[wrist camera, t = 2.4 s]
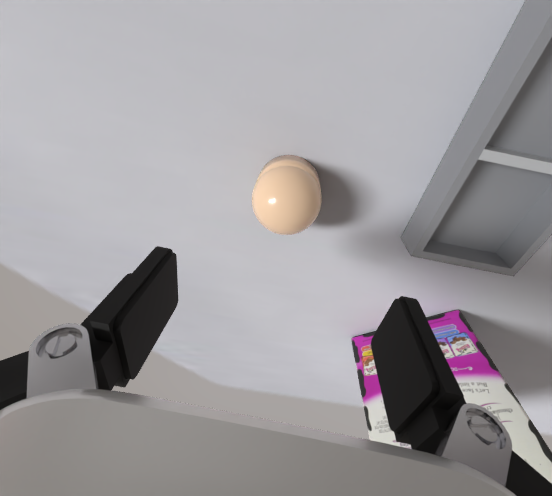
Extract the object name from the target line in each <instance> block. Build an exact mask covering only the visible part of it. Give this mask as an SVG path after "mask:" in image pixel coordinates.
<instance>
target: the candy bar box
mask: <svg viewBox="0 0 552 496" xmlns="http://www.w3.org/2000/svg"><path fill="white" fill-rule="evenodd" d="M426 319H427V321H428V323H429V325H430V327H431V329H432V331H433V333H434V335H435V337H436V339H437V341H438V343H439V345H440V347H441V350H442V352H443V354H444V356H445V358H446V360H447V362H448V364H449V366H450V368H451V370H452V372H453V374H454V376H455V378H456V380H457V382H458V384H459V387H460V389H461V391H462V393H463V395H464V396H463V397H464V399H465V401H466V403H472V404H476V405H479V406H481V407H483V408H485V409H486V410H488V411H490V412H491V413H492V414H493V415H494V416H495V417H497V418H498V420H499V421H500V422H501V423H502V424H503V425H504V427H505V428H506V430H507V432H508V433H509V436H510V438H511V441H512V450H513V451H514V452H515V453H516V454H517V455H519V456H520V457H521V458H522V459H523V460H524V461H526V462H527V463H528V464H529V465H530V466H532V467H533V468H534V469H535V470H536V471H537V472H539V473H540V474H541V475H542V476H543V477H545V478H546V479H547V480H548V481H549V482H550V483H552V452H551V451H550V449H549V448H548V446H547V445H546V443H545V441H544V440H543V438H542V437H541V435H540V433H539V432H538V430H537V429H536V428H535V426H534V425H533V423H532V421H531V420H530V419H529V417H528V415H527V414H526V412H525V411H524V409H523V408H522V406H521V404H520V403H519V401H518V399H517V398H516V397H515V395H514V394H513V392H512V391H511V389H510V387H509V386H508V384H507V383H506V381H505V380H504V378H503V377H502V375H501V374H500V372H499V371H498V369H497V368H496V366H495V364H494V363H493V361H492V360H491V358H490V357H489V355H488V354H487V352H486V350H485V349H484V347H483V346H482V344H481V343H480V341H479V340H478V338H477V337H476V335H475V334H474V332H473V330H472V329H471V327H470V325H469V324H468V322H467V321H466V319H465V318H464V316H463V315H462V313H461V312H460V311H459V310H454V311H450V312H446V313H442V314H439V315H435V316H431V317H427V318H426ZM375 332H376V331H375ZM375 332H372V333H368V334H364V335H361V336H357V337H354V338H352V346H353V352H354V357H355V362H356V368H357V373H358V379H359V384H360V389H361V395H362V400H363V406H364V410H365V416H366V421H367V426H368V433H369V438H370V440H372V441H377V442H382V443H386V444H391V445H395V446H400V447H404V448H409V449H412V448H411V444H406V443H401V442H396V438H395V434H394V432H393V431H391V429H390V427H389V423H388V419H387V415H386V410H385V406H384V402H383V397H382V393H381V389H380V384H379V380H378V375H377V371H376V367H375V362H374V358H373V354H372V349H371V340H372V338H373V336H374V334H375Z"/></svg>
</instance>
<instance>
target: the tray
mask: <svg viewBox="0 0 552 496" xmlns="http://www.w3.org/2000/svg"><path fill="white" fill-rule="evenodd" d="M551 235H552V0H526V1H525V3H524V5H523V7H522V8H521V10H520V12H519V14H518V16H517V18H516V20H515V22H514V24H513V26H512V27H511V29H510V31H509V33H508V35H507V37H506V39H505V41H504V43H503V45H502V46H501V48H500V50H499V52H498V54H497V56H496V58H495V60H494V62H493V64H492V65H491V67H490V69H489V71H488V73H487V75H486V77H485V79H484V81H483V82H482V84H481V86H480V88H479V90H478V92H477V94H476V96H475V98H474V100H473V101H472V103H471V105H470V107H469V109H468V111H467V113H466V115H465V117H464V119H463V120H462V122H461V124H460V126H459V128H458V130H457V132H456V134H455V136H454V138H453V139H452V141H451V143H450V145H449V147H448V149H447V151H446V153H445V155H444V157H443V158H442V160H441V162H440V164H439V166H438V168H437V170H436V172H435V174H434V176H433V177H432V179H431V181H430V183H429V185H428V187H427V189H426V191H425V193H424V195H423V196H422V198H421V200H420V202H419V204H418V206H417V208H416V210H415V212H414V214H413V215H412V217H411V219H410V221H409V223H408V225H407V227H406V229H405V231H404V233H403V234H402V236H401V239H402V241H403V243H404V244H405V246H406V248H407V250H408V252H409V253H410V255H411V256H413V257H418V258H424V259H429V260H434V261H439V262H444V263H449V264H454V265H459V266H464V267H469V268H474V269H479V270H484V271H489V272H494V273H500V274H505V275H510V276H514V275H515V274H516V273H517V272H518V271H519V270H520V269H521V268H522V266H523V265H524V264H525V263H526V262H527V261H528V260H529V259H530V258H531V257H532V255H533V254H534V253H535V252H536V251H537V250H538V249H539V248H540V247H541V246H542V244H543V243H544V242H545V241H546V240H547V239H548V238H549V237H550V236H551Z"/></svg>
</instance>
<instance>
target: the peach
mask: <svg viewBox="0 0 552 496" xmlns="http://www.w3.org/2000/svg"><path fill="white" fill-rule="evenodd" d="M321 201H322V197H321V188H320V180H319V176H318V173H317V172H316V170H315V168H314V167H313V166H312V165H311V164H310V163H309V162H308V161H307V160H305V159H303V158H301V157H298V156H294V155H283V156H279V157H276V158H274V159H272V160H271V161H269V162H268V163H267V164H266V165H265V166H264V167H263V169H262V171H261V172H260V175H259V177H258V179H257V182H256V184H255V186H254V189H253V194H252V206H253V210H254V213H255V215H256V217H257V219H258V220H259V222H260V223H261V224H262V225H263V226H264V227H265V228H267V229H268V230H270V231H272V232H274V233H277V234H281V235H292V234H296V233H299V232H301V231H303V230H305V229H307V228H308V227H309V226H310V225H311V224H312V223H313V222H314V221H315V219H316V218H317V216H318V214H319V211H320V208H321Z"/></svg>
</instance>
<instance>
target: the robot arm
mask: <svg viewBox="0 0 552 496" xmlns="http://www.w3.org/2000/svg"><path fill="white" fill-rule="evenodd" d="M177 303H178V283H177V260H176V254H175V253H173V252H172V250H171V249H168V248H163V247H156V248H155V249H154V250H153V251H152V252H151V253H150V254H149V255H148V256H147V257H146V259H145V260H144V261H143V262H142V263H141V264H140V265H139V266H138V267H137V269H136V270H135V271H134V272H133V273H132V274H131V273H130V274H127V275H126V276H125V277H124V278H123V279H122V280H121V281H120V282H119V283H118V285H117V286H116V287H115V288H114V289H113V290H112V291H111V292H110V293H109V294H108V295H107V297H106V298H105V299H104V300H103V301H102V302H101V303H100V304H99V305H98V306H97V307H96V308H95V310H94V311H93V312H92V313H91V314H90V315H89V316H88V317H87V318H86V319H85V320H84V322H83V323H82V324H81V325H78V324H70V323H68V324H62V325H58V326H55V327H53V328H50V329H49V330H47V331H45V332H43V333H42V334H41V335H39V336H38V337H37V338H36V339H35V340H34V341H33V343H32V344H31V346H30V349H29V351H27V352H24V353H21V354H18V355H15V356H13V357H10V358H7V359H4V360H1V361H0V496H552V483H550V482H549V481H548V480H547V479H546V478H545V477H543V476H542V475H541V474H540V473H539V472H537V471H536V470H535V469H534V468H533V467H532V466H530V465H529V464H528V463H527V462H526V461H524V460H523V459H522V458H521V457H520V456H519V455H517V454H516V453H515V452H514V451H513V450H512V441H511V438H510V436H509V433H508V432H507V430H506V428H505V427H504V425H503V424H502V423H501V422H500V421H499V420H498V418H497V417H495V416H494V415H493V414H492V413H491V412H490V411H488V410H486V409H485V408H483V407H481V406H479V405H476V404H472V403H466V401H465V399H464V397H463V396H464V395H463V393H462V391H461V389H460V387H459V384H458V382H457V380H456V378H455V376H454V374H453V372H452V370H451V368H450V366H449V364H448V362H447V360H446V358H445V356H444V354H443V352H442V350H441V347H440V345H439V343H438V341H437V339H436V337H435V335H434V333H433V331H432V329H431V327H430V325H429V323H428V321H427V319H426V317H425V315H424V313H423V310H422V308H421V306H420V304H419V302H418V301H417V300H416V299H413V298H408V297H403V296H401V297H400V298H399V299H395V300H394V302H393V303H392V305H391V307H390V309H389V310H388V312H387V314H386V315H385V317H384V319H383V320H382V322H381V324H380V326H379V327H378V329H377V331H376V332H375V334H374V336H373V338H372V340H371V349H372V354H373V358H374V362H375V367H376V371H377V375H378V380H379V384H380V389H381V393H382V397H383V402H384V406H385V410H386V415H387V419H388V423H389V427H390V429H391V431H393V432H394V434H395V438H396V442H401V443H406V444H411V448H412V449H409V448H404V447H400V446H395V445H391V444H386V443H382V442H377V441H372V440H367V439H362V438H357V437H352V436H348V435H343V434H338V433H332V432H328V431H323V430H318V429H313V428H308V427H303V426H298V425H293V424H288V423H283V422H278V421H273V420H268V419H263V418H258V417H253V416H248V415H243V414H238V413H233V412H228V411H223V410H217V409H212V408H206V407H202V406H196V405H192V404H186V403H181V402H176V401H171V400H165V399H159V398H154V397H148V396H143V395H137V394H131V393H125V392H118V391H111V390H112V388H113V387H114V385H115V386H120V387H126V385H127V383H128V381H129V380H130V379H134V378H135V377H136V376H137V374H138V373H139V371H140V369H141V367H142V365H143V364H144V362H145V360H146V359H147V357H148V355H149V353H150V352H151V350H152V348H153V347H154V345H155V343H156V341H157V340H158V338H159V336H160V334H161V333H162V331H163V329H164V327H165V326H166V324H167V322H168V320H169V319H170V317H171V315H172V314H173V312H174V310H175V308H176V306H177Z"/></svg>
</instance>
